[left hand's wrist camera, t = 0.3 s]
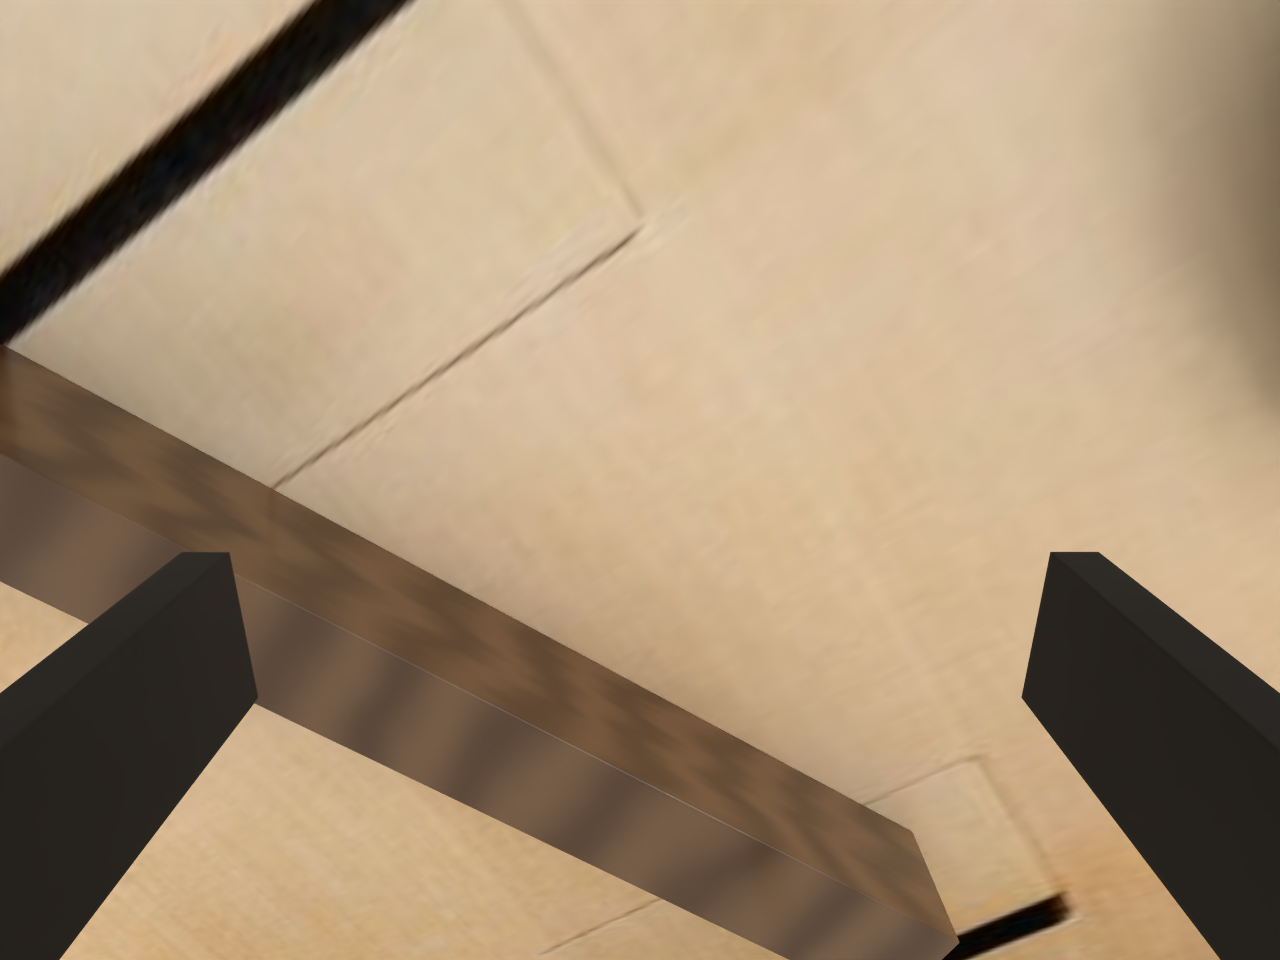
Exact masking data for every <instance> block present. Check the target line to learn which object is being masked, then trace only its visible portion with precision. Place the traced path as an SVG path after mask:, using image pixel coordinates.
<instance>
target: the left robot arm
mask: <svg viewBox="0 0 1280 960" xmlns="http://www.w3.org/2000/svg"><path fill="white" fill-rule="evenodd" d="M257 699H258V693H257V688H256V683H255V678H254V673H253V668H252V663H251V658H250V653H249V648H248V643H247V638H246V633H245V628H244V623H243V618H242V613H241V608H240V603H239V597H238V592H237V587H236V582H235V577H234V572H233V567H232V562H231V557H230V552H181V553H180V554H178V555H177V556H176V557H175V558H173V559H172V560H171V561H169V562H168V563H167V564H166V565H164V566H163V567H162V568H160V569H159V570H158V571H157V572H155V573H154V574H153V575H151V576H150V577H149V578H148V579H146V580H145V581H144V582H142V583H141V584H140V585H139V586H137V587H136V588H135V589H133V590H132V591H131V592H130V593H128V594H127V595H126V596H124V597H123V598H122V599H121V600H119V601H118V602H117V603H115V604H114V605H113V606H112V607H110V608H109V609H108V610H107V611H105V612H104V613H103V614H101V615H100V616H99V617H98V618H96V619H95V620H94V621H92V622H91V623H90V624H89V625H87V626H86V627H85V628H83V629H82V630H81V631H80V632H78V633H77V634H76V635H74V636H73V637H72V638H71V639H69V640H68V641H67V642H65V643H64V644H63V645H62V646H60V647H59V648H58V649H56V650H55V651H54V652H53V653H51V654H50V655H49V656H47V657H46V658H45V659H44V660H42V661H41V662H40V663H38V664H37V665H36V666H35V667H33V668H32V669H31V670H29V671H28V672H27V673H26V674H24V675H23V676H22V677H20V678H19V679H18V680H17V681H15V682H14V683H13V684H11V685H10V686H9V687H8V688H6V689H5V690H4V691H2V692H1V693H0V960H59V959H60V958H61V957H62V956H63V954H64V953H65V952H66V950H67V949H68V948H69V946H70V945H71V944H72V942H73V941H74V940H75V938H76V937H77V936H78V934H79V933H80V932H81V931H82V929H83V928H84V927H85V925H86V924H87V923H88V921H89V920H90V919H91V917H92V916H93V915H94V913H95V912H96V911H97V909H98V908H99V907H100V906H101V904H102V903H103V902H104V900H105V899H106V898H107V896H108V895H109V894H110V892H111V891H112V890H113V888H114V887H115V886H116V884H117V883H118V882H119V880H120V879H121V878H122V877H123V875H124V874H125V873H126V871H127V870H128V869H129V867H130V866H131V865H132V863H133V862H134V861H135V859H136V858H137V857H138V855H139V854H140V853H141V852H142V850H143V849H144V848H145V846H146V845H147V844H148V842H149V841H150V840H151V838H152V837H153V836H154V834H155V833H156V832H157V830H158V829H159V828H160V826H161V825H162V824H163V823H164V821H165V820H166V819H167V817H168V816H169V815H170V813H171V812H172V811H173V809H174V808H175V807H176V805H177V804H178V803H179V801H180V800H181V799H182V798H183V796H184V795H185V794H186V792H187V791H188V790H189V788H190V787H191V786H192V784H193V783H194V782H195V780H196V779H197V778H198V776H199V775H200V774H201V772H202V771H203V770H204V769H205V767H206V766H207V765H208V763H209V762H210V761H211V759H212V758H213V757H214V755H215V754H216V753H217V751H218V750H219V749H220V747H221V746H222V745H223V744H224V742H225V741H226V740H227V738H228V737H229V736H230V734H231V733H232V732H233V730H234V729H235V728H236V726H237V725H238V724H239V722H240V721H241V720H242V718H243V717H244V716H245V715H246V713H247V712H248V711H249V709H250V708H251V707H252V705H253V704H254V703H255V701H256V700H257ZM1022 699H1023V700H1024V701H1025V703H1026V704H1027V705H1028V707H1029V708H1030V709H1031V711H1032V712H1033V713H1034V715H1035V716H1036V717H1037V718H1038V720H1039V721H1040V722H1041V724H1042V725H1043V726H1044V728H1045V729H1046V730H1047V732H1048V733H1049V734H1050V736H1051V737H1052V738H1053V740H1054V741H1055V742H1056V744H1057V745H1058V746H1059V747H1060V749H1061V750H1062V751H1063V753H1064V754H1065V755H1066V757H1067V758H1068V759H1069V761H1070V762H1071V763H1072V765H1073V766H1074V767H1075V769H1076V770H1077V771H1078V772H1079V774H1080V775H1081V776H1082V778H1083V779H1084V780H1085V782H1086V783H1087V784H1088V786H1089V787H1090V788H1091V790H1092V791H1093V792H1094V794H1095V795H1096V796H1097V798H1098V799H1099V800H1100V801H1101V803H1102V804H1103V805H1104V807H1105V808H1106V809H1107V811H1108V812H1109V813H1110V815H1111V816H1112V817H1113V819H1114V820H1115V821H1116V823H1117V824H1118V825H1119V826H1120V828H1121V829H1122V830H1123V832H1124V833H1125V834H1126V836H1127V837H1128V838H1129V840H1130V841H1131V842H1132V844H1133V845H1134V846H1135V848H1136V849H1137V850H1138V852H1139V853H1140V854H1141V855H1142V857H1143V858H1144V859H1145V861H1146V862H1147V863H1148V865H1149V866H1150V867H1151V869H1152V870H1153V871H1154V873H1155V874H1156V875H1157V877H1158V878H1159V879H1160V880H1161V882H1162V883H1163V884H1164V886H1165V887H1166V888H1167V890H1168V891H1169V892H1170V894H1171V895H1172V896H1173V898H1174V899H1175V900H1176V902H1177V903H1178V904H1179V906H1180V907H1181V908H1182V909H1183V911H1184V912H1185V913H1186V915H1187V916H1188V917H1189V919H1190V920H1191V921H1192V923H1193V924H1194V925H1195V927H1196V928H1197V929H1198V931H1199V932H1200V933H1201V934H1202V936H1203V937H1204V938H1205V940H1206V941H1207V942H1208V944H1209V945H1210V946H1211V948H1212V949H1213V950H1214V952H1215V953H1216V954H1217V956H1218V957H1219V958H1220V959H1221V960H1280V693H1279V692H1278V691H1276V690H1275V689H1274V688H1272V687H1271V686H1270V685H1269V684H1267V683H1266V682H1265V681H1263V680H1262V679H1261V678H1260V677H1258V676H1257V675H1256V674H1254V673H1253V672H1252V671H1251V670H1249V669H1248V668H1247V667H1245V666H1244V665H1243V664H1242V663H1240V662H1239V661H1238V660H1236V659H1235V658H1234V657H1233V656H1231V655H1230V654H1229V653H1227V652H1226V651H1225V650H1224V649H1222V648H1221V647H1220V646H1218V645H1217V644H1216V643H1215V642H1213V641H1212V640H1211V639H1209V638H1208V637H1207V636H1206V635H1204V634H1203V633H1202V632H1200V631H1199V630H1198V629H1197V628H1195V627H1194V626H1193V625H1191V624H1190V623H1189V622H1188V621H1186V620H1185V619H1184V618H1182V617H1181V616H1180V615H1179V614H1177V613H1176V612H1175V611H1174V610H1172V609H1171V608H1170V607H1168V606H1167V605H1166V604H1165V603H1163V602H1162V601H1161V600H1159V599H1158V598H1157V597H1156V596H1154V595H1153V594H1152V593H1150V592H1149V591H1148V590H1147V589H1145V588H1144V587H1143V586H1141V585H1140V584H1139V583H1138V582H1136V581H1135V580H1134V579H1132V578H1131V577H1130V576H1129V575H1127V574H1126V573H1125V572H1123V571H1122V570H1121V569H1120V568H1118V567H1117V566H1116V565H1114V564H1113V563H1112V562H1111V561H1109V560H1108V559H1107V558H1105V557H1104V556H1103V555H1102V554H1100V553H1099V552H1050V557H1049V562H1048V567H1047V572H1046V577H1045V582H1044V587H1043V592H1042V597H1041V603H1040V608H1039V613H1038V618H1037V623H1036V628H1035V633H1034V638H1033V643H1032V648H1031V653H1030V658H1029V663H1028V668H1027V673H1026V678H1025V683H1024V688H1023V693H1022Z"/></svg>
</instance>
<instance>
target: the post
mask: <svg viewBox="0 0 1280 960" xmlns="http://www.w3.org/2000/svg"><path fill="white" fill-rule="evenodd" d="M181 552H230V557H231V562H232V567H233V572H234V577H235V582H236V587H237V592H238V597H239V603H240V608H241V613H242V618H243V623H244V628H245V633H246V638H247V643H248V648H249V653H250V658H251V663H252V668H253V673H254V678H255V683H256V688H257V693H258V699H257V700H256V701H255V704H257V705H259V706H261V707H263V708H265V709H267V710H270V711H272V712H274V713H276V714H278V715H280V716H282V717H284V718H286V719H288V720H290V721H293V722H295V723H297V724H299V725H301V726H303V727H305V728H307V729H309V730H311V731H313V732H315V733H318V734H320V735H322V736H324V737H326V738H328V739H330V740H332V741H334V742H336V743H338V744H340V745H343V746H345V747H347V748H349V749H351V750H353V751H355V752H357V753H359V754H361V755H363V756H366V757H368V758H370V759H372V760H374V761H376V762H378V763H380V764H382V765H384V766H386V767H388V768H391V769H393V770H395V771H397V772H399V773H401V774H403V775H405V776H407V777H409V778H411V779H414V780H416V781H418V782H420V783H422V784H424V785H426V786H428V787H430V788H432V789H434V790H436V791H439V792H441V793H443V794H445V795H447V796H449V797H451V798H453V799H455V800H457V801H459V802H461V803H464V804H466V805H468V806H470V807H472V808H474V809H476V810H478V811H480V812H482V813H484V814H487V815H489V816H491V817H493V818H495V819H497V820H499V821H501V822H503V823H505V824H507V825H509V826H512V827H514V828H516V829H518V830H520V831H522V832H524V833H526V834H528V835H530V836H532V837H535V838H537V839H539V840H541V841H543V842H545V843H547V844H549V845H551V846H553V847H555V848H557V849H560V850H562V851H564V852H566V853H568V854H570V855H572V856H574V857H576V858H578V859H580V860H583V861H585V862H587V863H589V864H591V865H593V866H595V867H597V868H599V869H601V870H603V871H605V872H608V873H610V874H612V875H614V876H616V877H618V878H620V879H622V880H624V881H626V882H628V883H630V884H633V885H635V886H637V887H639V888H641V889H643V890H645V891H647V892H649V893H651V894H653V895H656V896H658V897H660V898H662V899H664V900H666V901H668V902H670V903H672V904H674V905H676V906H678V907H681V908H683V909H685V910H687V911H689V912H691V913H693V914H695V915H697V916H699V917H701V918H704V919H706V920H708V921H710V922H712V923H714V924H716V925H718V926H720V927H722V928H724V929H726V930H729V931H731V932H733V933H735V934H737V935H739V936H741V937H743V938H745V939H747V940H749V941H752V942H754V943H756V944H758V945H760V946H762V947H764V948H766V949H768V950H770V951H772V952H774V953H777V954H779V955H781V956H783V957H785V958H787V959H789V960H942V959H943V958H944V957H945V956H946V955H947V954H948V953H949V952H950V951H951V950H952V949H953V948H954V947H955V946H956V945H957V944H958V943H959V940H958V938H957V936H956V933H955V931H954V929H953V926H952V924H951V922H950V919H949V917H948V914H947V912H946V910H945V907H944V905H943V903H942V900H941V898H940V896H939V893H938V891H937V889H936V886H935V884H934V882H933V879H932V877H931V875H930V872H929V870H928V868H927V865H926V863H925V861H924V858H923V856H922V854H921V851H920V849H919V847H918V844H917V842H916V840H915V837H914V835H913V833H912V832H911V831H909V830H907V829H906V828H904V827H902V826H900V825H898V824H896V823H894V822H892V821H891V820H889V819H887V818H885V817H883V816H881V815H879V814H878V813H876V812H874V811H872V810H870V809H868V808H866V807H864V806H863V805H861V804H859V803H857V802H855V801H853V800H851V799H849V798H848V797H846V796H844V795H842V794H840V793H838V792H836V791H835V790H833V789H831V788H829V787H827V786H825V785H823V784H821V783H820V782H818V781H816V780H814V779H812V778H810V777H808V776H807V775H805V774H803V773H801V772H799V771H797V770H795V769H793V768H792V767H790V766H788V765H786V764H784V763H782V762H780V761H778V760H777V759H775V758H773V757H771V756H769V755H767V754H765V753H764V752H762V751H760V750H758V749H756V748H754V747H752V746H750V745H749V744H747V743H745V742H743V741H741V740H739V739H737V738H736V737H734V736H732V735H730V734H728V733H726V732H724V731H722V730H721V729H719V728H717V727H715V726H713V725H711V724H709V723H707V722H706V721H704V720H702V719H700V718H698V717H696V716H694V715H693V714H691V713H689V712H687V711H685V710H683V709H681V708H679V707H678V706H676V705H674V704H672V703H670V702H668V701H666V700H665V699H663V698H661V697H659V696H657V695H655V694H653V693H651V692H650V691H648V690H646V689H644V688H642V687H640V686H638V685H637V684H635V683H633V682H631V681H629V680H627V679H625V678H623V677H622V676H620V675H618V674H616V673H614V672H612V671H610V670H608V669H607V668H605V667H603V666H601V665H599V664H597V663H595V662H594V661H592V660H590V659H588V658H586V657H584V656H582V655H580V654H579V653H577V652H575V651H573V650H571V649H569V648H567V647H566V646H564V645H562V644H560V643H558V642H556V641H554V640H552V639H551V638H549V637H547V636H545V635H543V634H541V633H539V632H537V631H536V630H534V629H532V628H530V627H528V626H526V625H524V624H523V623H521V622H519V621H517V620H515V619H513V618H511V617H509V616H508V615H506V614H504V613H502V612H500V611H498V610H496V609H495V608H493V607H491V606H489V605H487V604H485V603H483V602H481V601H480V600H478V599H476V598H474V597H472V596H470V595H468V594H466V593H465V592H463V591H461V590H459V589H457V588H455V587H453V586H452V585H450V584H448V583H446V582H444V581H442V580H440V579H438V578H437V577H435V576H433V575H431V574H429V573H427V572H425V571H424V570H422V569H420V568H418V567H416V566H414V565H412V564H410V563H409V562H407V561H405V560H403V559H401V558H399V557H397V556H395V555H394V554H392V553H390V552H388V551H386V550H384V549H382V548H381V547H379V546H377V545H375V544H373V543H371V542H369V541H367V540H366V539H364V538H362V537H360V536H358V535H356V534H354V533H353V532H351V531H349V530H347V529H345V528H343V527H341V526H339V525H338V524H336V523H334V522H332V521H330V520H328V519H326V518H324V517H323V516H321V515H319V514H317V513H315V512H313V511H311V510H310V509H308V508H306V507H304V506H302V505H300V504H298V503H296V502H295V501H293V500H291V499H289V498H287V497H285V496H283V495H282V494H280V493H278V492H276V491H274V490H272V489H270V488H268V487H267V486H265V485H263V484H261V483H259V482H257V481H255V480H253V479H252V478H250V477H248V476H246V475H244V474H242V473H240V472H239V471H237V470H235V469H233V468H231V467H229V466H227V465H225V464H224V463H222V462H220V461H218V460H216V459H214V458H212V457H211V456H209V455H207V454H205V453H203V452H201V451H199V450H197V449H196V448H194V447H192V446H190V445H188V444H186V443H184V442H182V441H181V440H179V439H177V438H175V437H173V436H171V435H169V434H168V433H166V432H164V431H162V430H160V429H158V428H156V427H154V426H153V425H151V424H149V423H147V422H145V421H143V420H141V419H140V418H138V417H136V416H134V415H132V414H130V413H128V412H126V411H125V410H123V409H121V408H119V407H117V406H115V405H113V404H112V403H110V402H108V401H106V400H104V399H102V398H100V397H98V396H97V395H95V394H93V393H91V392H89V391H87V390H85V389H83V388H82V387H80V386H78V385H76V384H74V383H72V382H70V381H69V380H67V379H65V378H63V377H61V376H59V375H57V374H55V373H54V372H52V371H50V370H48V369H46V368H44V367H42V366H41V365H39V364H37V363H35V362H33V361H31V360H29V359H27V358H26V357H24V356H22V355H20V354H18V353H16V352H14V351H12V350H11V349H9V348H7V347H5V346H3V345H1V344H0V582H3V583H5V584H7V585H9V586H11V587H13V588H15V589H17V590H19V591H21V592H23V593H25V594H28V595H30V596H32V597H34V598H36V599H38V600H40V601H42V602H44V603H46V604H48V605H50V606H53V607H55V608H57V609H59V610H61V611H63V612H65V613H67V614H69V615H71V616H73V617H76V618H78V619H80V620H82V621H84V622H86V623H88V624H90V623H91V622H92V621H94V620H95V619H96V618H98V617H99V616H100V615H101V614H103V613H104V612H105V611H107V610H108V609H109V608H110V607H112V606H113V605H114V604H115V603H117V602H118V601H119V600H121V599H122V598H123V597H124V596H126V595H127V594H128V593H130V592H131V591H132V590H133V589H135V588H136V587H137V586H139V585H140V584H141V583H142V582H144V581H145V580H146V579H148V578H149V577H150V576H151V575H153V574H154V573H155V572H157V571H158V570H159V569H160V568H162V567H163V566H164V565H166V564H167V563H168V562H169V561H171V560H172V559H173V558H175V557H176V556H177V555H178V554H180V553H181Z"/></svg>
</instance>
